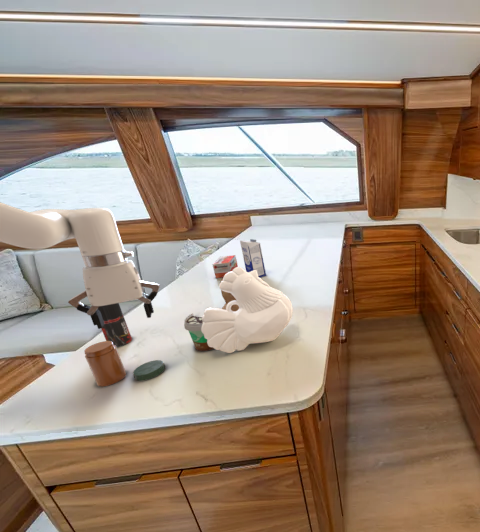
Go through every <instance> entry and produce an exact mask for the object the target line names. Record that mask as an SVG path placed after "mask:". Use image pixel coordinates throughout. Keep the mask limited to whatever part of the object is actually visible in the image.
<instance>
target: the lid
mask: <svg viewBox="0 0 480 532" xmlns="http://www.w3.org/2000/svg"><path fill="white" fill-rule="evenodd" d="M165 370H166V365H165V363H164V361H163V360H161V359H154V360H150V361H147V362H145V363H142V364H140V365H138V366H137V367H135V369H134V370H133V372H132V374H133V375H132V376H133V377H134V379H135V380H136V381H139V382H141V381H142V382H143V381H147V380H151V379H154V378H156V377H157V376H159V375H161V374H162V373H163V372H164V371H165Z"/></svg>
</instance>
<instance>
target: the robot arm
mask: <svg viewBox="0 0 480 532" xmlns="http://www.w3.org/2000/svg"><path fill="white" fill-rule="evenodd" d="M114 216H115V215H114V213H113V212H112V210H111V209H109V208H106V207H87V208H77V209H65V208H64V209H61V208H60V209H59V208H44V209H37V210H34V211H26V210H23V209H20V208H18V207H15V206H12V205H9V204H7V203H3V202H1V201H0V243H3V244H7V245H10V246H14V247H19V248H23V249H30V250H43V249H48V248H52V247H54V246H56V245H57V244H60V243H62V242H65V241H68V240H73V239H75V241H76V243H77V246H78V247H77V248H78V249H79V252H80V254H81V259H82V260H83V263H84V266H82V278H83V283H84V289H85V290H84V291H83V290H82V292H80V293H78V294H77V295H75V296H73V297H71V298H70V299H69V300H68V302H67V303H68V304H69V305H71V306H72V307H73V308H75V309H76V311H79V312H81V313H85V314H86V315H87V316H90V319H91V321H92V325H93V326H96V327H97V329H98V330H102V329H101V328H102V327H103V325H104V320H103V318H102V315H101V312H100V311H99V310H97V309H98V307H99V306H104V305H110V304H115V303H119V304H121V303H125V302H132V301H135V300H139V301H141V302H142V303H143V308H144V312H145V315H146V318H147V319H151V318H152V314H154V312H155V311H154V306H153V303H152V301H153V300H154V299H155V298H156V297H157V295H158V293H159V290H160V288H161V287H160V286H161V284H159V283H157V282H156V283H155V282H150V281H145V280H142V279H141V277H140V273H139V271H138V269H137V267H136V265H135V263H134V262H133V260H132V259H129V258H132V257H134V252H133V251H129V250H128V251H127V250H126V249H125V248H124V245H123V242H122V239H121V235H120V232H119V229H118V226H117V222H116V219H115V217H114ZM145 288H148V289H151V292H150V293H149V294H147V293H145ZM85 298H87V300H88V302H89V304H90V305H91V306H90V305H88V304H85V303H82V300H84V299H85Z"/></svg>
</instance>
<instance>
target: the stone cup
mask: <svg viewBox="0 0 480 532" xmlns="http://www.w3.org/2000/svg"><path fill="white" fill-rule="evenodd" d="M222 281H223V278H222V279H221V280H220V283H221V282H222ZM220 292H221V296H222V298H223V300H224V302H225V303H224V304H223V306H222V307H221V309H224V310H226V306H227V304H228V303H229V302H231V301H233V300H236V299H235V298H234V296H233V295H232V294H231V293H228V292H224V291H222V290H221V289H220ZM238 309H239V306H238V305H236V304H234V305H232V306H231V310H232V311H237V310H238Z"/></svg>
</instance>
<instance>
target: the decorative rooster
mask: <svg viewBox="0 0 480 532" xmlns="http://www.w3.org/2000/svg"><path fill="white" fill-rule="evenodd" d="M222 279H223V281H222V280H221V281H222V282H221V281H220V282H219V285H218V286H219V289H220V291H221V290H222V291H224V292H228V293H231V294H232V295H233V296H234V298H235V299H236V300H233V301H231V302H229V303H228V304H227V306H226V310H224V309H222V308H220V307H207V308H205V310H204V311H203V315H202V316H201V317H202V320H203V324H202V328H201V331H202V333H203V334H204V337H205V339H207V344H208V346H209V347H212V348H214V349H213V350H216V351H220V352H224V353H226V354H232V353H234V352H235V351H244V350H245V349H246V348H248V346H249V345H250V344H262V343H267V342H272V341H276V339H277V338H278V337H279V336H280V335H281V334H282V333H283V331H284V330H285V328H286V327H287V326H288V324H289V323H290V322H291V320H292V319H293V316H294V315H293V314H294V308H293V304H292V301H291V300H290V298H289V297H288V296H287V295H286V294H284V293H283V291H281V290H279V289H277V288H274V287H272V286H270V285H269V283H267V282H266V281H264V280H263V278H262V277H258V273H257V270H253V271H251V272H246V269H244V268H243V267H241V266H238V267H236V268H234V269H233V271H230V272H228V273H226V274H225V275H224V277H222ZM234 304H236V305H238V306H239V309H238V310H237V311H232V310H231V306H232V305H234Z"/></svg>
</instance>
